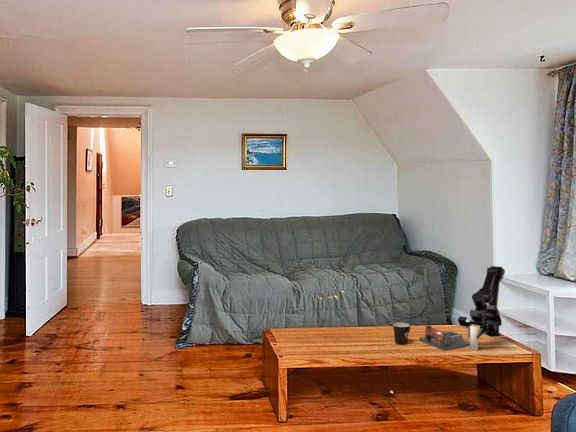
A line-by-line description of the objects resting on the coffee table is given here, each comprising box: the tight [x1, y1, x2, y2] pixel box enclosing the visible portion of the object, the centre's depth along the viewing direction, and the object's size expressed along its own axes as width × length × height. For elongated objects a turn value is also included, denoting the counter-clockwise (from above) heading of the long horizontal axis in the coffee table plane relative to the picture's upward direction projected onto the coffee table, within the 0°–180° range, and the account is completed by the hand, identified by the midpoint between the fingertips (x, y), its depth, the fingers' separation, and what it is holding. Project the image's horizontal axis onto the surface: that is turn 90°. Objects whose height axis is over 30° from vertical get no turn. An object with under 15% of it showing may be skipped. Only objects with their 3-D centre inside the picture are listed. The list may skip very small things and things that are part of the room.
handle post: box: [469, 325, 479, 351], centre depth 270 cm, size 4×4×12 cm
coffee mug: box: [392, 322, 411, 346], centre depth 282 cm, size 12×9×10 cm
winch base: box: [418, 324, 470, 352], centre depth 281 cm, size 20×20×8 cm
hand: (473, 337), depth 269 cm, fingers closed on handle post, 4 cm apart
